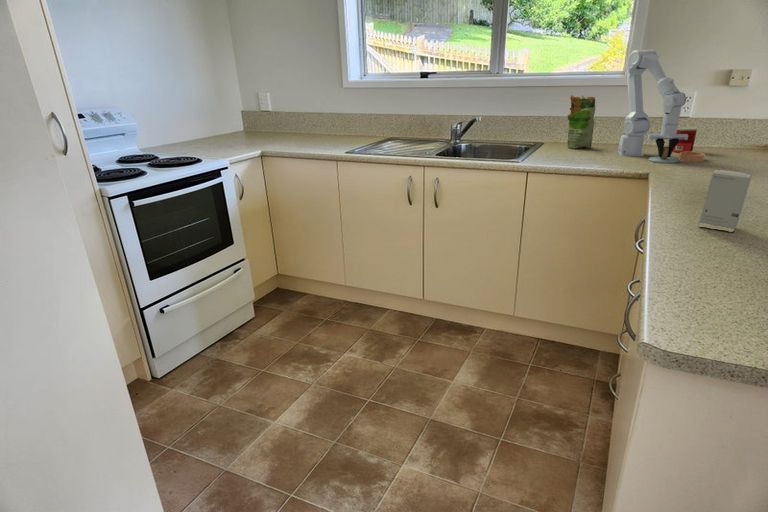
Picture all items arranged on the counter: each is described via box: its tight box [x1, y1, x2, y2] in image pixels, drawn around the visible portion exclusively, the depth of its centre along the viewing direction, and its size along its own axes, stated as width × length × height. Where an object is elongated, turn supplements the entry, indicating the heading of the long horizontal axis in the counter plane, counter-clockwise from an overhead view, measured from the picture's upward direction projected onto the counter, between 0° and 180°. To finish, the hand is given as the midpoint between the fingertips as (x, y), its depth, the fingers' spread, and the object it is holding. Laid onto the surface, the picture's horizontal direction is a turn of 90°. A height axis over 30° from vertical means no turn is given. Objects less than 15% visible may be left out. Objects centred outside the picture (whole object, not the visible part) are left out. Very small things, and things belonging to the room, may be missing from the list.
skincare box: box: [698, 169, 753, 230], centre depth 126 cm, size 8×6×15 cm
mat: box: [647, 157, 681, 164], centre depth 204 cm, size 10×10×1 cm
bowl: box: [677, 151, 706, 163], centre depth 203 cm, size 9×9×3 cm
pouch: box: [567, 94, 596, 150], centre depth 235 cm, size 11×12×25 cm
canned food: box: [672, 126, 698, 154], centre depth 217 cm, size 8×8×11 cm
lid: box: [648, 146, 680, 164], centre depth 203 cm, size 11×11×6 cm
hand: (664, 156), depth 204 cm, fingers closed on lid, 3 cm apart
